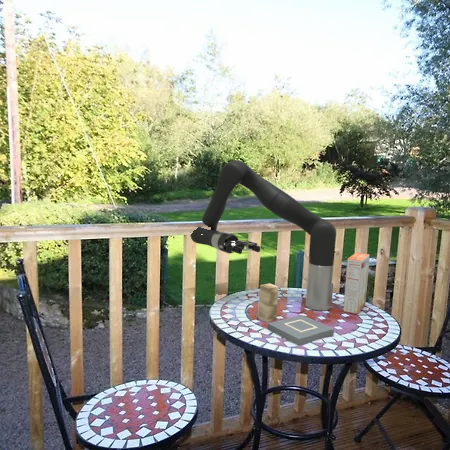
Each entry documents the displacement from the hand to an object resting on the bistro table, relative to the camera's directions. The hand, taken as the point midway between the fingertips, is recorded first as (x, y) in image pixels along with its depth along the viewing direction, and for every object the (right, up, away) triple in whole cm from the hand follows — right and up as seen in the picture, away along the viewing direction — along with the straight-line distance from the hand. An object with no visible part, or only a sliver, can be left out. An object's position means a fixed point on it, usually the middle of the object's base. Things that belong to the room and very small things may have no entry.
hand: (250, 250), depth 147 cm
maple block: (+5, -24, -6) cm, 25 cm away
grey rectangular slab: (+15, -26, -16) cm, 34 cm away
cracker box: (+41, -23, +10) cm, 48 cm away
